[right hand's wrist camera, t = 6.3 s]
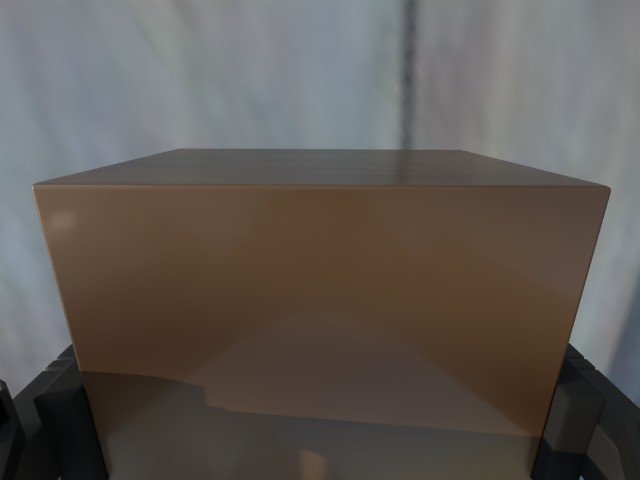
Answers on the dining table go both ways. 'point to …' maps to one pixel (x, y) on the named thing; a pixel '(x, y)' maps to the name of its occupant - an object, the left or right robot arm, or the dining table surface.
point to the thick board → (320, 310)
